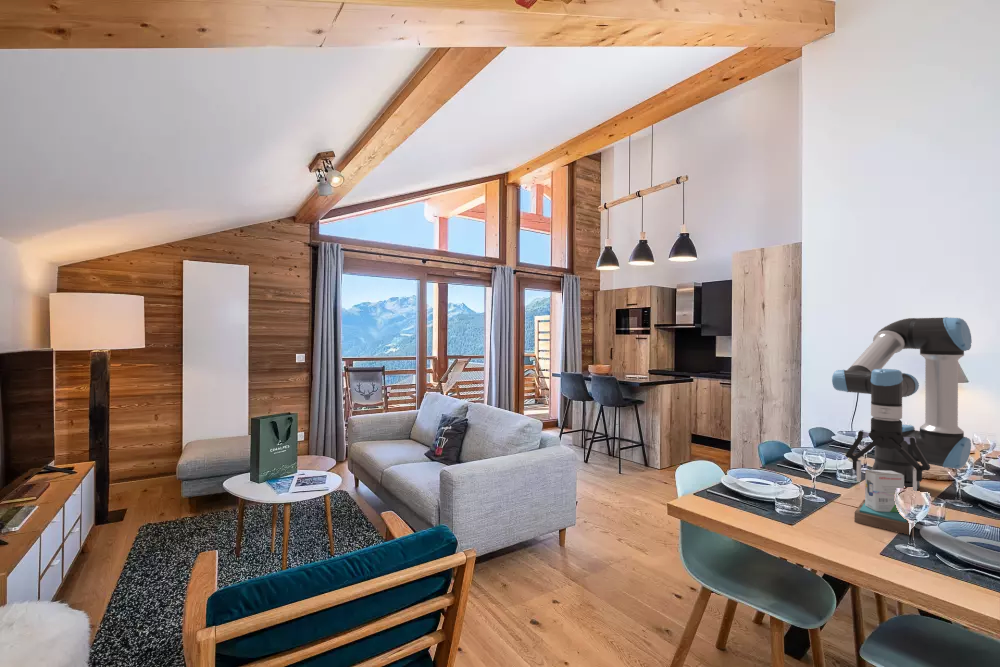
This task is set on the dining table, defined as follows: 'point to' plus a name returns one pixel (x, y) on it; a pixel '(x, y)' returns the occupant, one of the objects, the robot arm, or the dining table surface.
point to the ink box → (882, 489)
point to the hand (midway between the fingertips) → (885, 485)
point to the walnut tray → (881, 519)
